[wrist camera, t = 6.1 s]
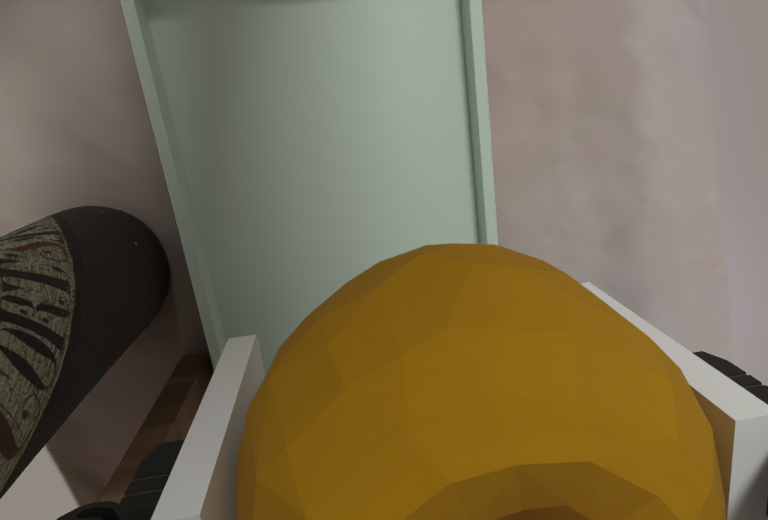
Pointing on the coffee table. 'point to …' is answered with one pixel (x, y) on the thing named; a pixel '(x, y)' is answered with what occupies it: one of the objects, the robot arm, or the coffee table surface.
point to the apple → (474, 404)
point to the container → (68, 317)
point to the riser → (164, 420)
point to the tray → (312, 144)
